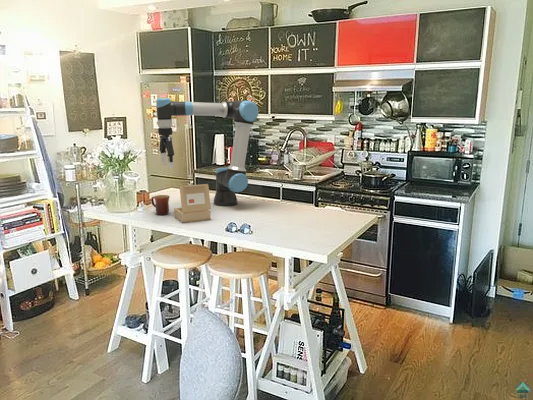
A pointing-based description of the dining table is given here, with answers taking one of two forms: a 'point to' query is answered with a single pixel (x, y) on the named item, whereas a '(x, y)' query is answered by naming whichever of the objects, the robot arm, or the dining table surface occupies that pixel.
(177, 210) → the mailer box
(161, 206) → the mug
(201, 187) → the lid
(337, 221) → the dining table surface
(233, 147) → the robot arm
